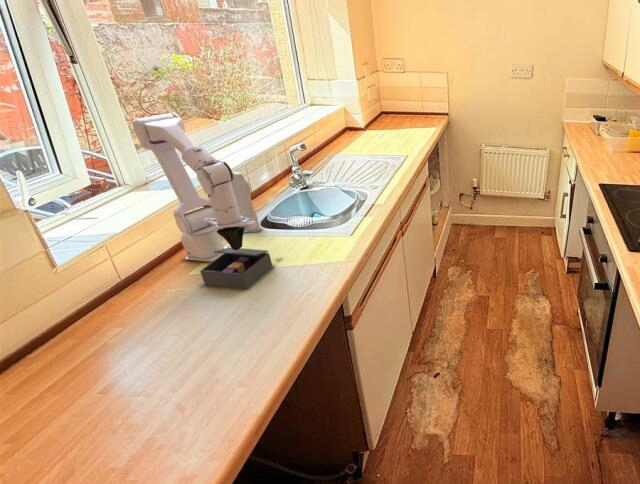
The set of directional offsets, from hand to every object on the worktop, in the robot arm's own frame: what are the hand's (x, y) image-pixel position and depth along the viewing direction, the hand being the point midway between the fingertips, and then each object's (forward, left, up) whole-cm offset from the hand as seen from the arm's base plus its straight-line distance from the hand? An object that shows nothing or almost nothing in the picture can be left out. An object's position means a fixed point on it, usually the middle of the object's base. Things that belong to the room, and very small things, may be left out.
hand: (237, 248), depth 115 cm
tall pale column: (-17, +23, -8) cm, 30 cm away
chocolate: (0, -2, -8) cm, 8 cm away
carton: (0, -2, -8) cm, 8 cm away
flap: (0, +1, -2) cm, 2 cm away
